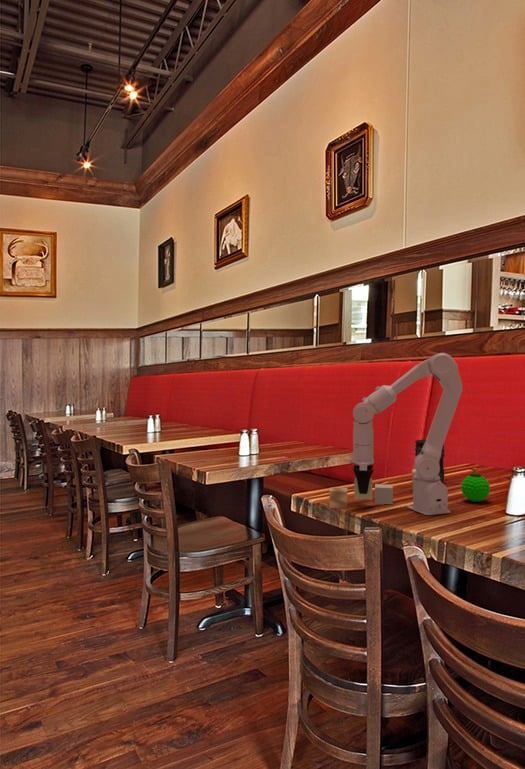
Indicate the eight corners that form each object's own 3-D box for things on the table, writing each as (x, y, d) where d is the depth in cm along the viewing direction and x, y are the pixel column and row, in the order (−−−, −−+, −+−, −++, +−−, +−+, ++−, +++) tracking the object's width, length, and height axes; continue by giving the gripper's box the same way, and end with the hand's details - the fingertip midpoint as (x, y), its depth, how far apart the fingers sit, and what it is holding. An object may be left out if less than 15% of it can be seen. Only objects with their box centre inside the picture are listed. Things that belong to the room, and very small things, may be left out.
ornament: (495, 504, 159) (495, 470, 159) (471, 505, 157) (471, 471, 157) (479, 498, 167) (479, 465, 167) (455, 499, 165) (455, 466, 165)
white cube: (391, 501, 164) (391, 484, 164) (392, 505, 159) (392, 488, 159) (375, 500, 164) (375, 484, 164) (375, 504, 160) (375, 487, 159)
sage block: (372, 495, 158) (372, 478, 158) (372, 499, 153) (372, 481, 153) (354, 495, 159) (354, 478, 159) (354, 498, 154) (354, 481, 154)
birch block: (347, 505, 159) (347, 488, 159) (347, 509, 154) (347, 491, 154) (330, 504, 160) (330, 487, 160) (329, 508, 155) (329, 490, 155)
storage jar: (414, 485, 187) (414, 442, 187) (415, 480, 196) (415, 439, 196) (445, 487, 184) (445, 443, 184) (444, 481, 193) (444, 440, 193)
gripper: (349, 441, 163) (349, 486, 164) (348, 447, 149) (348, 496, 149) (373, 441, 162) (373, 486, 162) (374, 447, 148) (374, 497, 148)
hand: (363, 491), depth 156 cm, fingers closed on sage block, 5 cm apart
